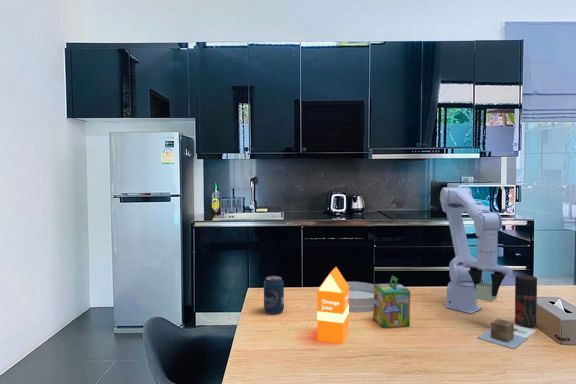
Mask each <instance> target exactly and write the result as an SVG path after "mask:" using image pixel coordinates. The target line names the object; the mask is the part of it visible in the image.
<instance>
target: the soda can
mask: <svg viewBox="0 0 576 384" xmlns="http://www.w3.org/2000/svg"><path fill="white" fill-rule="evenodd" d="M264 279H265V280H264V281H263V309H264V311H265V313H266V314H268V315H272V316H273V315H279V314H281V313H283V311H284V310H285V309H284V308H285V294H284V293H285V289H284V288H285V286H284V285H285V282H284V280H283V277H282V276H280V275H270V276H266V277H265V278H264Z"/></svg>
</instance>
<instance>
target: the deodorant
mask: <svg viewBox="0 0 576 384" xmlns="http://www.w3.org/2000/svg"><path fill="white" fill-rule="evenodd" d="M514 283H515V284H514V287H515V288H514V325H517V326H521V327H525V328H529V329H533V328H536V327H537V321H536V319H537V318H538V317H537V315H538V314H537V313H538V312H537V311H538V310H537V309H538V305H537V303H538V278H537V277H536V276H533V275H527V274H517V275H515V282H514Z"/></svg>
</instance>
